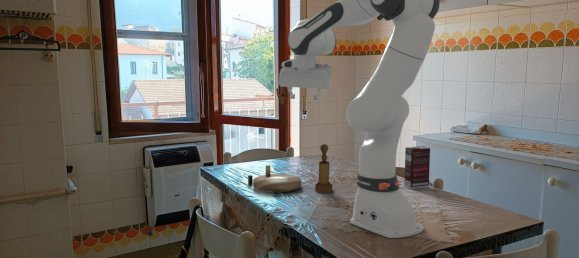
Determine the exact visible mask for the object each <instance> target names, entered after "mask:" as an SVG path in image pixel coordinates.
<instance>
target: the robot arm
mask: <svg viewBox="0 0 579 258" xmlns="http://www.w3.org/2000/svg"><path fill="white" fill-rule="evenodd" d="M440 4H441V1H440V0H338V1H335V2H333V3H332V4H330V5H329V6H327V7H325V8H324V9H322V10H321V11H319V12H318V13H317V14H316V15H314V16H313V17H311V18H310V19H309V18H307V19H302V20H299V21H297V22H296V25H295V26H294V27H293V28H292V29H291V30H290V32H289V33H288V37H287V45H288V48H289V49H290V51H291V52H292V53H293V58H292V59H289V60H285V61H283V62H281V67H282V68H281V69H280V71H279V76H278V85H279V87H282V88H283V87H284V88H287V91H288V93H289V99H291V100H295V99H296V94H295V93H293V88H303V89H304V88H305V89H306V88H307V89H316V94H314V95H313V101H319V96H320V94H321V92H322V90H323V89H324V90H325V89H327V90H328V89H330V87H331V86H332V79H331V75H332V73H333V72H332V71H333V70H332V66H330V65H329V64H328V63H324V64H322V63H318V56H326V55H331V54H332V53H333V52H334V50H335V48H336V46H337V37H336V34H335V32H334V31H333V30H332V29H333V28H334V29H335V28H339V27H348V26H349V27H350V26H363V25H365V24H367V23H370V22H372V21H374V20H375V19H377V18H378V17H379V16H382V18H383V19H384V20H385V21H387V22H388V21H392V22H393V31H392V33H391V36H390V38H389V41H388V42H387V44H386V47H385V49H384V51H383V54H382V56H381V59H380V61H379V63H378V65H377V68H376V70H374V73H373V74H372V76H371V77H370V79H369V80H368V81H367V83H366V84H365V86H364V87H363V88H362V90H361V91H360V93H358V95H357V96H356V97H355V98H353V99H352V100H351V101H349V103H348V105H347V107H346V110H345V119H346V121H347V123H348V125H349V126H350V128H352V129H353V130H355V131H359V132H363V133H366V135H365V139H364V140H363V142H362V144H361V145H360V147H359V151H358V153H359V154H358V173H357V174H356V175H357V176H356V185H357V191H356V193H355V195H354V202H353V209H352V216H351V218H350V219H349V223H350V224H351V225H354V226H356V227H358V228H361V229H364V230H367V231H369V232H372V233H374V234H377V235H379V236H382V237H385V238H388V239H398V238H401V239H402V238H406V237H412V236H416V235H418V234H420V233H422V232H423V231H424V229H425V228H424V225H423V224H421V223H419V222H418V221H416V211H415V208H414V207H413V205H412V203H411V202H410V201H409V200H408V199H407V198H406V196H405V195H404V193H402V192H401V190H400V186H401V185H402V182H403V181H402V180H398V176H397V174H396V171H397V170H396V169H397V168H396V165H397V153H398V152H397V150H398V146H399V142H400V138H401V134H402V130H403V126H404V123H405V121H406V120H407V119H408V117H409V114H410V105H409V102H408V101H407V99H406V98H405V97H404V96H403V95H404V94H405V93H406V92H407V90H408V89H410V88H411V87H412V85H413V84H414V82H415V80H416V77H417V76H418V74H419V72H420V69H421V67H422V65H423V63H424V61H425V59H426V57H427V54H428V52H429V50H430V48H431V44H432V40H433V37H434V33H435V29H436V24H435V21H434V20H433V19H434V18H435V17H436V15H437V14H438V12H439V9H440Z"/></svg>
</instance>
